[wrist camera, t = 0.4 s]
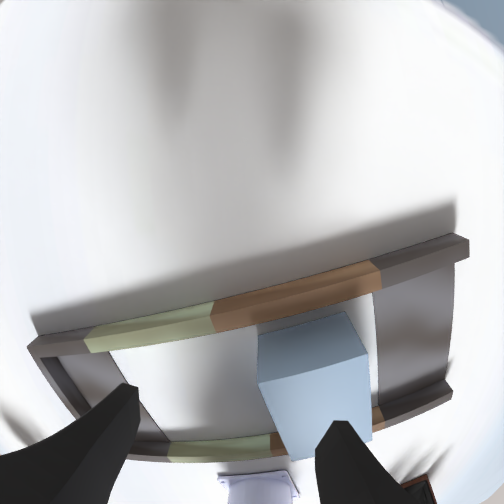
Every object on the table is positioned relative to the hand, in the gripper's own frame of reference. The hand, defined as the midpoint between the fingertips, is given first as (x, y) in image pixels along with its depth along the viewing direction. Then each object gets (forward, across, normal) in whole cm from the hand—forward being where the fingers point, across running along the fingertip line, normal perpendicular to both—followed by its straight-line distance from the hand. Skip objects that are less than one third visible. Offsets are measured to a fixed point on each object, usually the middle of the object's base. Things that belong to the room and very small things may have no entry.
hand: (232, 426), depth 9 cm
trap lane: (+10, 0, +7) cm, 12 cm away
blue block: (+10, -6, +4) cm, 12 cm away
